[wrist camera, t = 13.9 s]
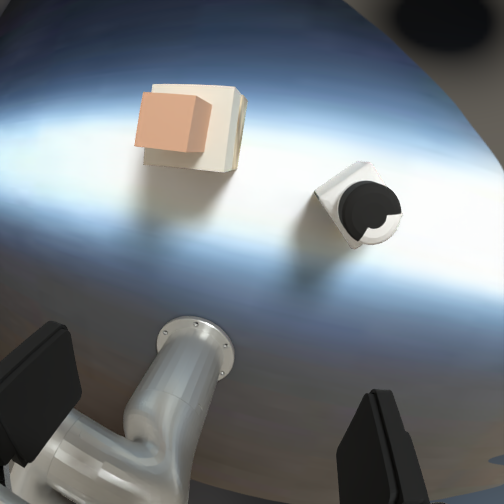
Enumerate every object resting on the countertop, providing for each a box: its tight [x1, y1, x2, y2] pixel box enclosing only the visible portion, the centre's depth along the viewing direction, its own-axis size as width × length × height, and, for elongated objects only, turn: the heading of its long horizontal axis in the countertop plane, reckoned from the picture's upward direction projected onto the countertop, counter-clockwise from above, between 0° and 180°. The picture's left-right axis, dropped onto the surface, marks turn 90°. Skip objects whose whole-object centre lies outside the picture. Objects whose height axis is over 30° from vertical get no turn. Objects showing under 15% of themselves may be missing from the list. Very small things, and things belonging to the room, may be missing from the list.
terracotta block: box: [134, 92, 212, 153], centre depth 28 cm, size 5×5×6 cm
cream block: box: [143, 84, 241, 173], centre depth 33 cm, size 9×9×4 cm
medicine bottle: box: [314, 161, 403, 249], centre depth 34 cm, size 7×7×12 cm
